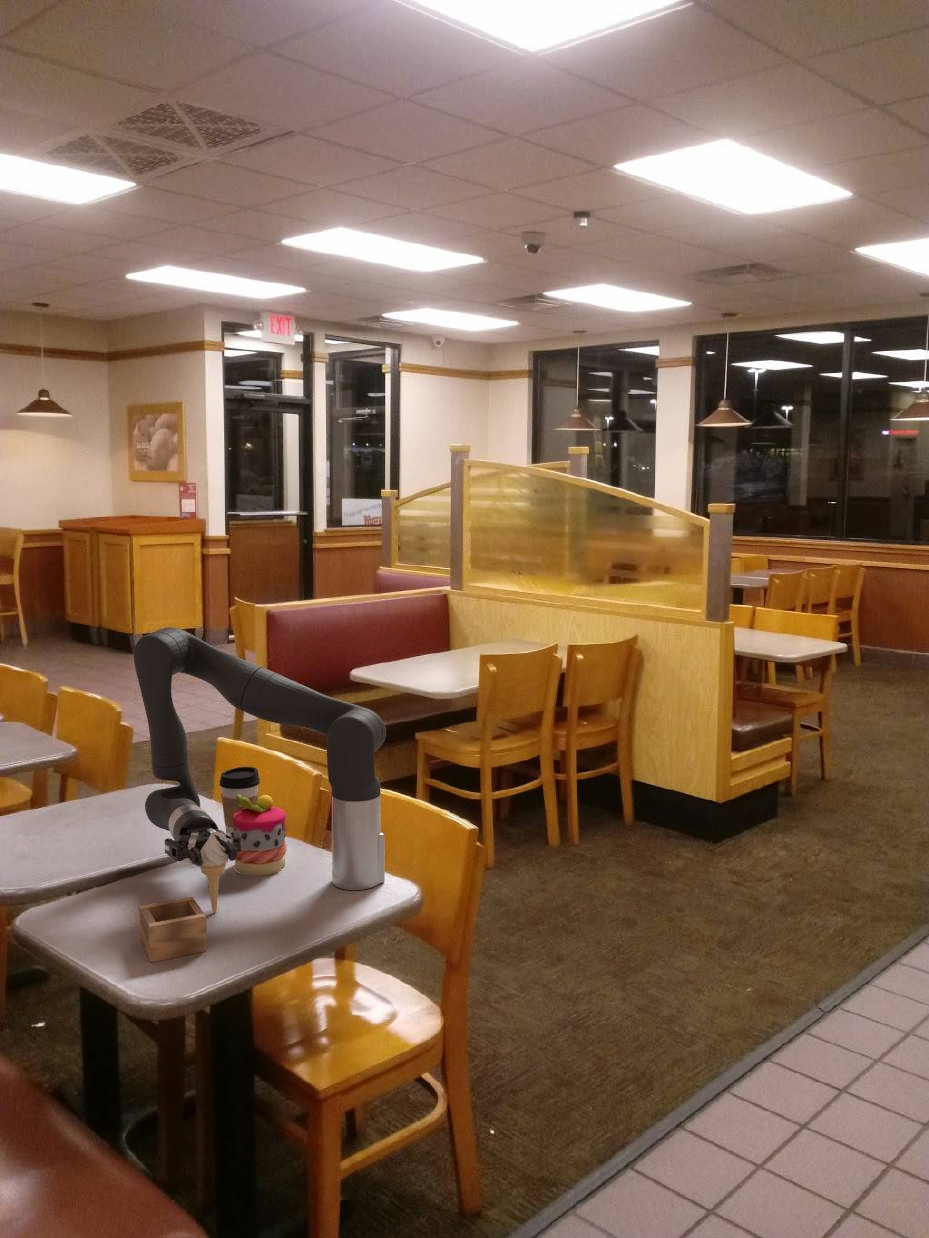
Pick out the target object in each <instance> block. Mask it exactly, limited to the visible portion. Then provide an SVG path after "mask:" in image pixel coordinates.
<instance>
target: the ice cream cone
mask: <svg viewBox="0 0 929 1238" xmlns="http://www.w3.org/2000/svg"><path fill="white" fill-rule="evenodd" d="M226 852H227V851H226V850H225V849H224V848H223V846H221V845H220V843H219V841H218V840H217V839H216V837H215V836H214V834H213V832H212V833H211V835H210V837H209V838H208V840H207V842H206V843H205V845H204V846H203V848H202V849H201V851H200V853H201V855H202V866H199V868H200V872H201V873H202V874H204V876H205V878H207V883H208V889H209V890H208V891H209V897H210V904H211V910H212V913H213V914H216V913H217V910H218V897H219V886H220V885H219V884H220V876H221V875H222V873H224V872H225V870H226V869H225V868H226V865H227V863H228V862H229V855H227V854H225V853H226Z"/></svg>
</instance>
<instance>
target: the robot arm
mask: <svg viewBox="0 0 929 1238" xmlns="http://www.w3.org/2000/svg"><path fill="white" fill-rule="evenodd" d="M134 645H135V646H134V649H133V662H134V668H135V673H136V676H137V681H138V686H139V688H140V693H141V698H142V702H143V706H144V710H145V715H146V719H147V724H148V731H149V740H150V741H149V742H150V744H149V745H150V755H151V768H152V775H153V776H154V778H155V779H158V780H160V781H161V780H162V781H172V782H174V781H175V782H178V783H179V785H177V786H171V787H166V788H160V789H156V790H153V791H152V792H150V793H149V794H148V795H147V797H146V800H145V802H144V811H145V814H146V816H147V818H148V820H149V821H150V823H152V825H154V826H155V827H156V828H159V829H162V830H165V831H169V832H170V836H171V837H172V838H165V839H164V854H165V855H167V856H169V857H171V858H172V859H173V860H175V861H177V862H183V861H184V859H187V861H189V862H190V863H191V864H192V865H195V866H196V867H200V866H202V855H201V853H200V851H201V849H202V848H203V846H204V845H205V843H206V842H207V840H208V838H209V837H210V835H211V833H212V832H213V834H214V836H215V837H216V839H217V840H218V841H219V843H220V845H221V846H223V848H224V849H225V850H226V851H227V852H226V853H225V854H227V855H229V858H228V860H229V861H230V862H233V861H235V858H236V857H237V852H240V851H241V835H240V831H239V829H238V828H235V829H233V831H231V832H230V833H226V832H225V831H224V830H220V829H219V827H218V824H217V823H216V822H215V821H214V819H213V818H211V816H210V815H209V814H208V813H207V812H206V811H205V809H202V808H201V800H200V797H199V794H198V792H197V789H196V787H195V784H194V782H193V779H192V775H191V771H190V770H191V769H190V764H189V753H188V752H189V751H188V740H187V738H188V737H187V735H186V730H185V727H184V725H183V723H182V721H181V719H180V717H179V715H178V712H177V711H176V708H175V704H174V701H173V697H172V694H173V693H172V682H173V681H172V680H173V676H174V675H176V674H178V673H181V674H185V675H188V676H191V677H193V678H197V679H198V680H201V681H204V682H206V683H208V684H209V685H211V686H212V687H214V688H215V690H217V692H218V693H219V694H220V695H221V697H223V698H224V699H225V700H226V701H227V702H228V703H229V704H230V705H232V706H233V707H234V708H235V709H238V710H239V711H241V712H244V713H246V714H249V715H251V716H253V717H256V718H258V719H260V720H263V721H266V722H270V723H274V724H280V725H286V726H294V727H298V728H299V727H300V728H305V729H310V730H313V731H316V732H318V733H321V734H323V735H325V736H326V765H327V778H328V783H329V784H330V785H329V786H330V787H331V848H332V849H331V860H332V861H331V869H332V870H331V877H332V881H331V882H332V884H333V885H334V886H335V887H337V888H339V889H343V890H349V891H361V890H367V889H371V888H374V887H376V886H378V885H379V884H381V883H385V879H386V878H385V874H386V873H385V871H386V870H385V869H386V868H385V867H386V866H385V863H386V862H385V861H386V860H385V859H386V858H385V857H386V855H385V845H386V844H385V843H386V842H385V840H386V839H385V838H386V836H385V834H384V833H383V832H382V830H381V827H382V826H381V821H382V820H381V790H382V789H381V781H380V779H379V778H378V777H377V776H376V771H375V752H377V751H378V750H379V749H380V748H381V746H383V744H384V742H385V741H386V738H387V727H386V725H385V722H384V720H383V719H382V718H381V717H380V715H378V713H376V712H375V711H374V710H372V709H370V708H367V707H363V706H361V705H358V704H353V703H350V702H347V701H344V700H341V699H340V700H339V699H337V698H334V697H331V696H329V695H325V694H323V693H321V692H318V691H317V690H314V689H312V688H310V687H308V686H305V685H304V684H301V683H299V682H297V681H295V680H292V679H290V678H288V677H286V676H284V675H282V674H280V673H277V672H275V671H272V670H270V669H268V668H265V667H263V666H261V665H258V664H255V663H252V662H250V661H248V660H245V659H243V658H241V657H238V656H235V655H233V654H231V653H228V652H225V651H223V650H221V649H219V648H216V647H215V646H213V645H211V644H210V643H208V642H205V641H204V640H202V639H200V638H199V637H197V636H195V635H193V634H191V633H190V632H188V631H186V630H183V629H181V628H178V627H174V626H170V627H169V626H167V627H163V628H160V629H158V630H156V631H153V632H150V633H147V634H146V635H143V637H141V638H139V639H138V641H137V642H136V643H135V644H134Z"/></svg>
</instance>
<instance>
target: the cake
mask: <svg viewBox="0 0 929 1238" xmlns="http://www.w3.org/2000/svg"><path fill="white" fill-rule="evenodd" d="M236 799H237V801H238V802H239V803H240V804H239V807H242V808H244V809H241V810H239V811H237V812H236V813H235V814H234V816H233V825H234V828H233V829H235V828H238V829H239V831H240V835H241V851H240V852H237V857H236V858H235V860H234V870H235V869H236V870H237V871H238V872H237V871H236V870H235V871H236V872H237V873H239V872H240V873H239V874H241V875H246V876H252V877H258V876H260V877H261V876H268V875H273V874H276V873H275V872H277V873H278V871H279V872H280V870H281V869H283V870H284V868H285V867H286V852H287V848H288V845H287V841H286V839H285V838H286V831H287V829H286V825H285V824H286V820H287V815H286V814H287V813H286V812H285V811H284V810H283V809H281V808H280V807H276V806H273V805H274V800H273V799H272V797H271V796H270V795H267V794H262V795H261V796H258V801H257V806H256V805H255V806H254V805H253V804H252V803H251V801H250V800H249V799H248V798H246V797H244V798H242V796H241V795H237V796H236ZM281 871H282V870H281Z"/></svg>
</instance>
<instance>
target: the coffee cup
mask: <svg viewBox="0 0 929 1238" xmlns="http://www.w3.org/2000/svg"><path fill="white" fill-rule="evenodd" d="M260 783H261V780H260V775H259V770H258V769H257V768H256V767H253V766H239V767H234V768H231V769H227V770H225V771H222V773H221V774H220V778H219V784H218V785H219V786H220V787H221V802H222V804H221V805H222V810H223V811H222V812H223V820H224V827H225V833H230V832H231V831H233V828H234V825H233V816H234V814H235V813H236V812H237V811H239V810H241V809H244V808H242V807H239V804H240V803H239V802H238V801H237V799H236V796H237V795H241V796H242V798H244V797H246V798H248V799H249V800H250V801H251V803H252V804H253V805H254V806H255V805H256V806H258V805H257V801H258V799H259V791H258V790H259V789H258V788H259V785H260Z"/></svg>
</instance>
